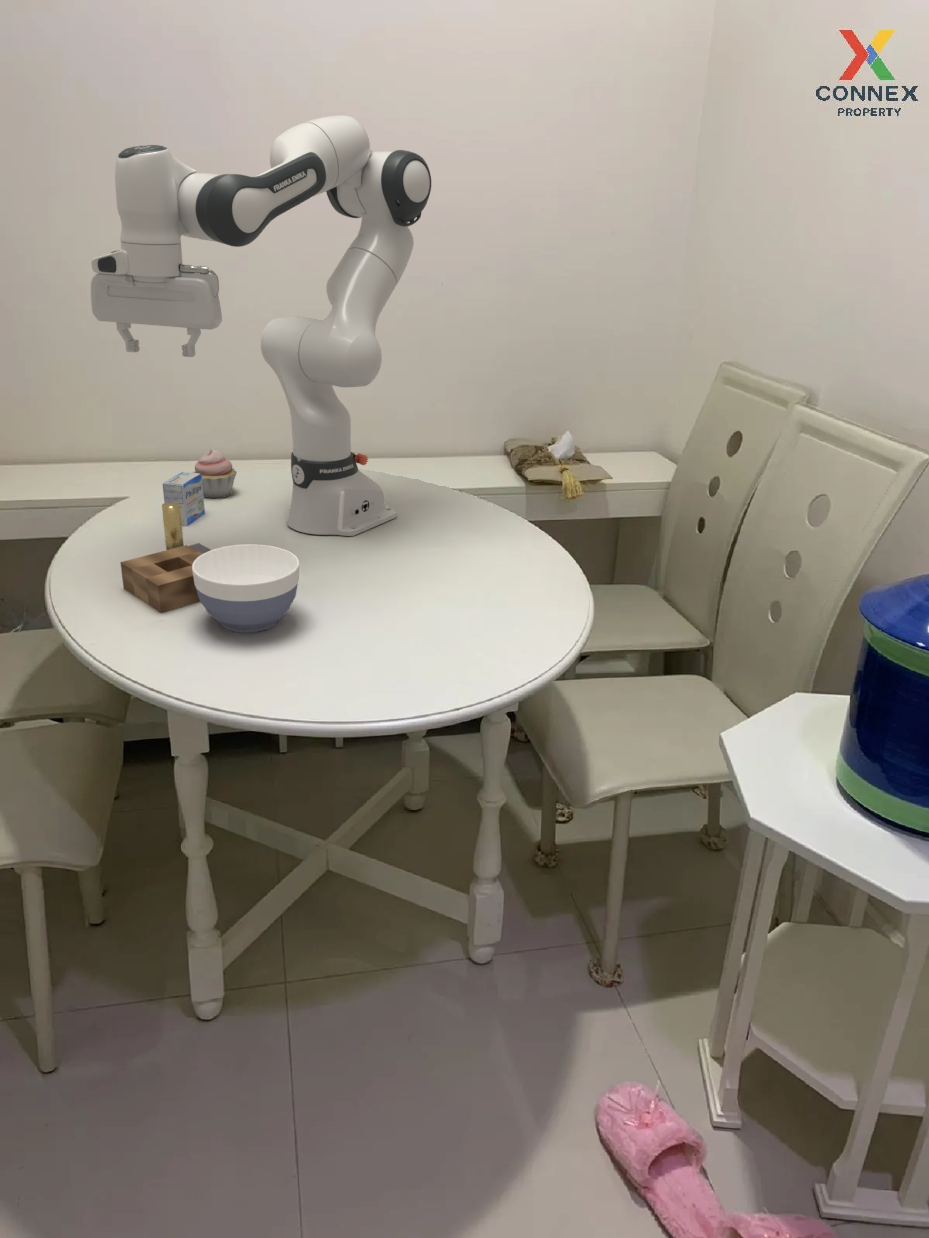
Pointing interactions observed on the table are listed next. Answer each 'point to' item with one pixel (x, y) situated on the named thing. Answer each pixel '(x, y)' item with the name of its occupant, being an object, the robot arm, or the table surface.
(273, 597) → the bowl
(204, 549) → the rubber mat
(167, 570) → the hole block
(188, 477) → the medicine box
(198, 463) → the cupcake
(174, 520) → the brass peg
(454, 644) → the table surface
